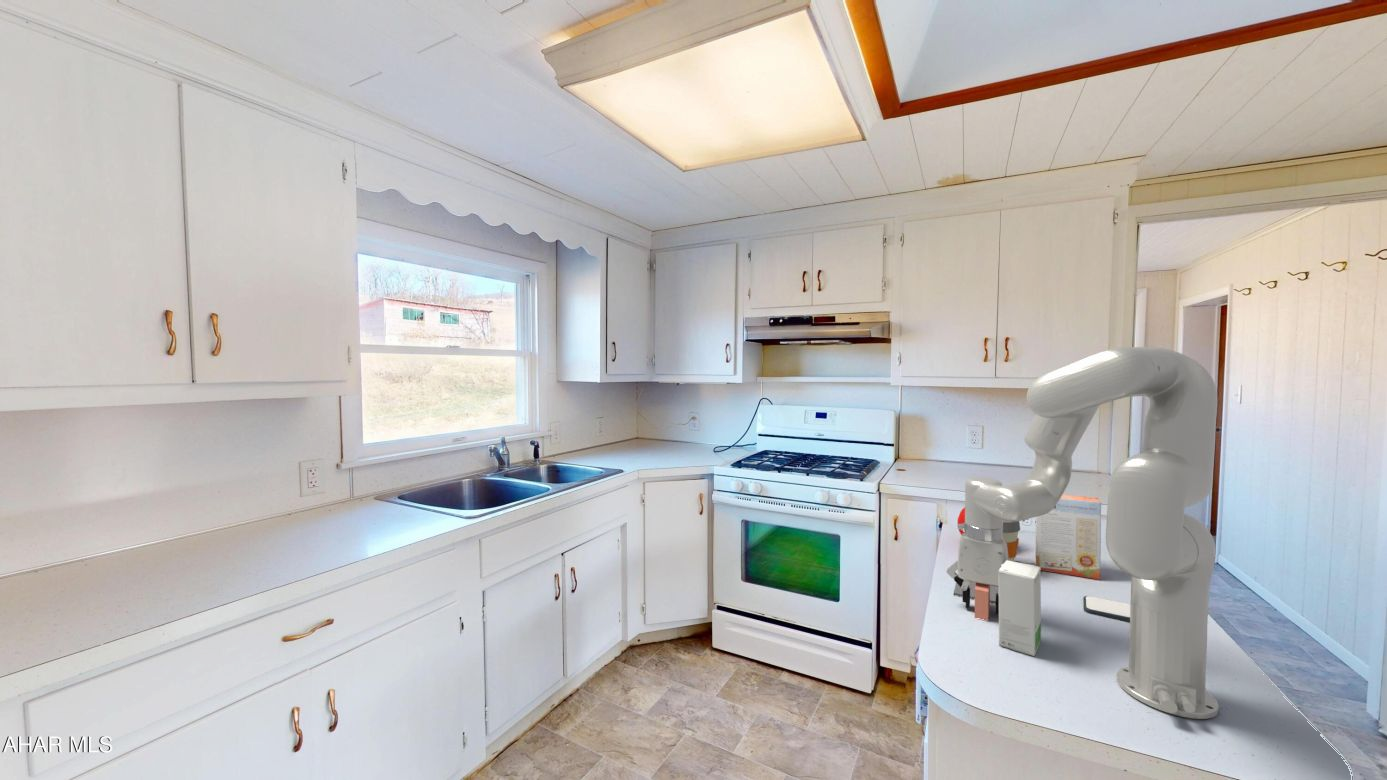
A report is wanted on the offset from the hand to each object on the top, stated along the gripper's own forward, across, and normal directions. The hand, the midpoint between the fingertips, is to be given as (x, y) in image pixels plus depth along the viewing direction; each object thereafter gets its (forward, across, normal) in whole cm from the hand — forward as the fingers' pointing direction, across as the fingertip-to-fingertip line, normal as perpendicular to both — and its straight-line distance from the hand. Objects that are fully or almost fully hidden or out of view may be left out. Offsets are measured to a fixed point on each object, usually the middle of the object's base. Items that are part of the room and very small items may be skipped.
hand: (982, 608), depth 115 cm
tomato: (+1, -2, +47) cm, 47 cm away
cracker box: (+1, +18, +37) cm, 41 cm away
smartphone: (+1, +28, +15) cm, 32 cm away
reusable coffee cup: (+1, +1, +29) cm, 29 cm away
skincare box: (+1, +7, -11) cm, 13 cm away
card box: (+1, 0, 0) cm, 1 cm away
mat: (+1, +1, +13) cm, 13 cm away
